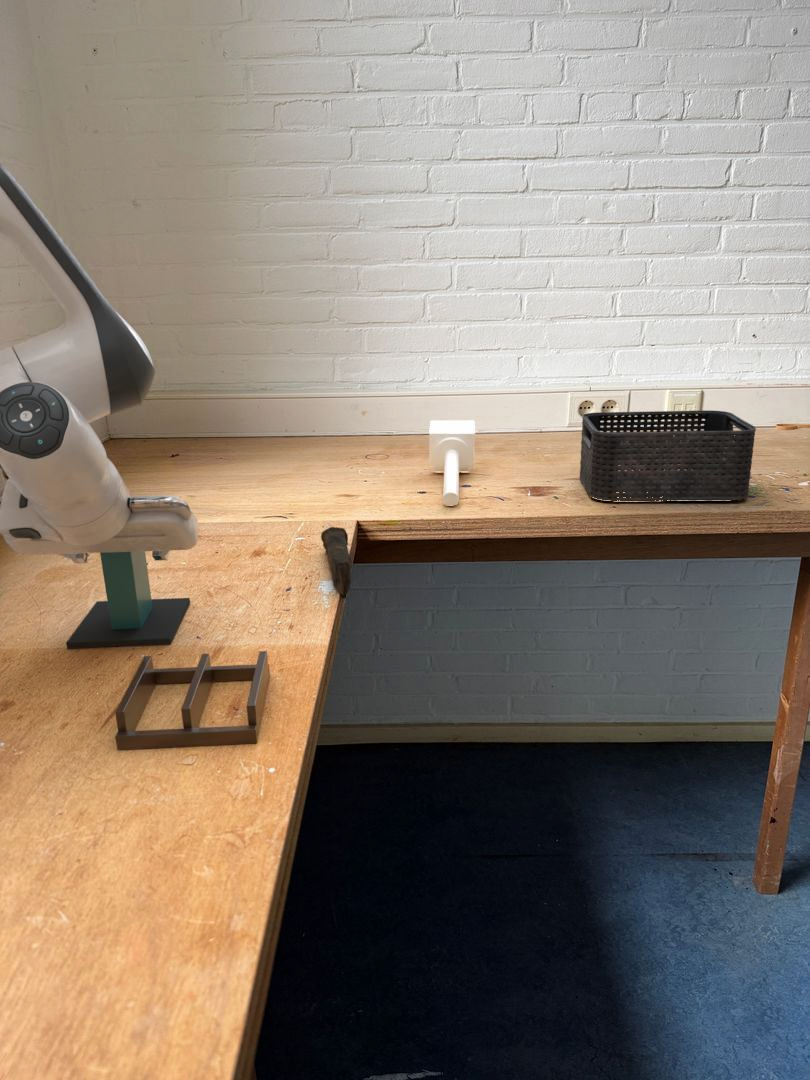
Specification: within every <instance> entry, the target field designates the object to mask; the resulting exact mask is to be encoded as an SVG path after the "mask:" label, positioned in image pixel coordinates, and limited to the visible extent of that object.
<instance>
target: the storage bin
mask: <svg viewBox="0 0 810 1080" xmlns="http://www.w3.org/2000/svg"><path fill="white" fill-rule="evenodd" d="M581 417H582V418H581V419H582V421H581V422H582V423H581V425H582V426H581V428H582V429H581V441H580V445H581V447H580V462H579V464H580V467H579V468H580V469H579V481H580V482H581V481H582V482H581V484H582V483H583V484H582V486H583V485H584V486H583V487H585V488H586V490H587V491H586V490H585V491H586V493H587V492H588V493H589V495H590V496H591V497H594V498H597V499H602V500H611V501H617V500H618V501H619V500H620V501H655V500H656V501H659V500H661V501H662V500H663V501H667V500H670V501H671V500H738V501H743V500H742V499H744V500H746V499H748V497H749V490H750V489H749V488H750V480H751V473H752V472H751V470H752V464H753V455H754V446H755V436H756V431H757V427H756V426H755V425H753V424H751V423H749V422H747V421H746V420H744V419H742V418H741V417H739V416H738V415H736V414H734V413H732V412H729V411H723V410H658V411H656V410H655V411H653V410H652V411H603V412H601V411H599V412H588V413H584V414H582V416H581ZM734 427H735V428H737V429H738V430H734ZM585 488H584V489H585ZM616 492H619V493H616ZM623 492H625V493H623ZM647 492H648V493H647ZM588 493H587V494H588ZM589 495H588V496H589ZM662 496H663V497H662ZM617 497H619V498H617ZM623 497H626V498H623ZM630 497H631V498H630ZM647 497H648V498H647ZM652 497H653V498H652ZM660 497H662V498H660ZM745 498H746V499H745Z"/></svg>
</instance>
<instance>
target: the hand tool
mask: <svg viewBox="0 0 810 1080" xmlns="http://www.w3.org/2000/svg"><path fill="white" fill-rule="evenodd" d="M320 540H321V542H322V546H323V548H324V550H325V554H326V556H327V561H328V565H329V569H330V570H329V571H330V575H331V580H332V585H333V587H334V589H335V590H337V592H338V593H339V594H341V595H342V596H346V595H347V594H348V592H349V591H350V588H351V582H352V575H351V574H352V572H351V571H352V569H351V567H352V565H351V564H352V562H351V561H352V559H351V555H350V553H349V547H348V545H349V535H348V532H347V531H346V528H343V527H337V526H331V527H328V528H326V529H324V530H323V531H322V532H321V534H320Z"/></svg>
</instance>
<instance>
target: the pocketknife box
mask: <svg viewBox="0 0 810 1080" xmlns="http://www.w3.org/2000/svg"><path fill="white" fill-rule="evenodd" d="M99 554H100V560H101V568H102V574H103V575H102V576H103V580H104V589H105V594H106V601H107V602H108V608H109V615H110V621H111V628H112V630H115V629H140V628H142V626H143V624H144V622H145V620H146V619H147V617H148V615H149V613H150V612H151V610H152V608H153V607H152V600H151V599H152V593H151V586H150V585H151V584H150V577H149V570H148V563H147V562H148V561H147V556H146V551H138V552H108V553H99Z"/></svg>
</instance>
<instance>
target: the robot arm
mask: <svg viewBox="0 0 810 1080" xmlns="http://www.w3.org/2000/svg"><path fill="white" fill-rule="evenodd" d="M0 239H3V240H5V241H6V242H7V243H9V244H10V245H11V246H13V248H15V249H16V250H17V251H18V252H19V254H20V255H21V256H22V257H23V258H24V260H25V261H26V262H27V264H28V265H29V266H30V268H31V269H32V270H33V272H34V273H35V274H36V276H38V278H39V279H40V280H41V282H42V283H43V284H44V286H45V287H46V288H47V290H48V291H49V292H50V294H51V295H52V296H53V297H54V299H55V300H56V301H57V302H58V304H59V305H60V306H61V307H62V309H63V310H64V312H65V315H66V319H65V321H64V322H63V323H62V324H61V325H59V326H58V327H55V328H53V329H50V330H48V331H47V332H42V333H41V334H39V335H36V336H34V337H31V338H28V339H27V340H24V341H22V342H19V343H18V344H15V345H10V346H8V347H6V348H3V349H0V470H3V471H4V473H5V474H6V475H7V477H8V479H7V481H6V483H5V486H4V490H3V493H2V497H1V500H0V501H1V502H0V535H2V536H3V538H4V540H5V542H6V544H8V546H9V547H10V548H11V549H12V550H13V551H14V552H16V553H18V554H21V555H26V556H45V555H46V556H47V555H57V556H60V557H62V558H63V557H64V558H66V559H69V560H71V561H72V562H73V563H74V564H76V565H77V564H88V563H89V561H90V559H89V557H90V554H100V553H108V552H138V551H145V552H152V553H151V556H152V558H153V560H154V561H156V562H158V561H161V562H162V561H166V562H167V561H168V560H169V553H170V551H188V550H192V549H194V548H195V547H196V546H197V544H198V539H199V521H198V518H197V516H196V514H195V513H194V512H193V511H192V509H191V507H190V505H189V503H187V501H184V500H183V499H181V498H180V497H178V496H174V495H170V494H169V495H168V494H151V495H149V494H147V495H145V494H144V495H131V493H130V490H129V489H128V486H127V485H126V484H125V481H124V479H123V478H122V476H121V474H120V473H119V471H118V469H117V468H116V466H115V464H114V463H113V462H112V461H111V460H110V459H109V458H108V455H107V451H106V448H105V446H104V445H103V443H102V441H101V439H100V438H99V436H98V434H97V433H96V432H95V430H94V429H93V427H92V426H91V424H90V423H93V422H94V421H95V422H96V421H97V420H99V419H102V418H103V417H106V416H109V415H110V416H112V415H115V414H117V413H121V412H123V411H126V410H129V409H132V408H134V407H137V406H141V405H142V404H143V402H144V401H145V399H146V397H147V395H148V394H149V391H150V389H151V387H152V384H153V381H154V378H155V375H156V370H155V368H154V363H153V359H152V356H151V354H150V351H149V349H148V348H147V346H146V344H145V342H144V340H143V339H142V338H141V336H140V335H139V334H138V332H137V331H136V330H135V329H134V328H133V327H132V326H131V325H130V324H129V323H128V322H127V321H126V319H124V318H123V317H122V315H121V314H119V313H118V312H117V310H115V309H114V307H113V306H112V305H111V303H110V302H109V301H108V300H107V298H106V297H105V296H104V294H103V293H102V292H101V291H100V289H99V288H98V287H97V285H96V283H95V282H94V281H93V279H92V278H91V277H90V276H89V274H88V272H87V271H86V270H85V269H84V267H83V266H82V264H81V263H80V262H79V260H78V259H77V258H76V257H75V255H74V254H73V252H72V251H71V250H70V249H69V247H68V246H67V244H65V243H64V240H63V238H61V235H59V234H58V232H57V231H56V230H55V228H54V227H53V225H52V224H51V223H50V221H49V220H48V219H47V218H46V216H45V214H43V212H42V211H41V209H39V207H38V206H37V205H36V204H35V203H34V201H33V200H32V199H31V197H30V196H29V195H28V193H27V192H26V190H24V188H23V187H22V186H21V185H20V183H19V182H18V180H16V179H15V177H14V176H13V175H12V174H11V172H9V171H8V169H7V168H6V167H5V166H4V165H3V164H2V163H0Z"/></svg>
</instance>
